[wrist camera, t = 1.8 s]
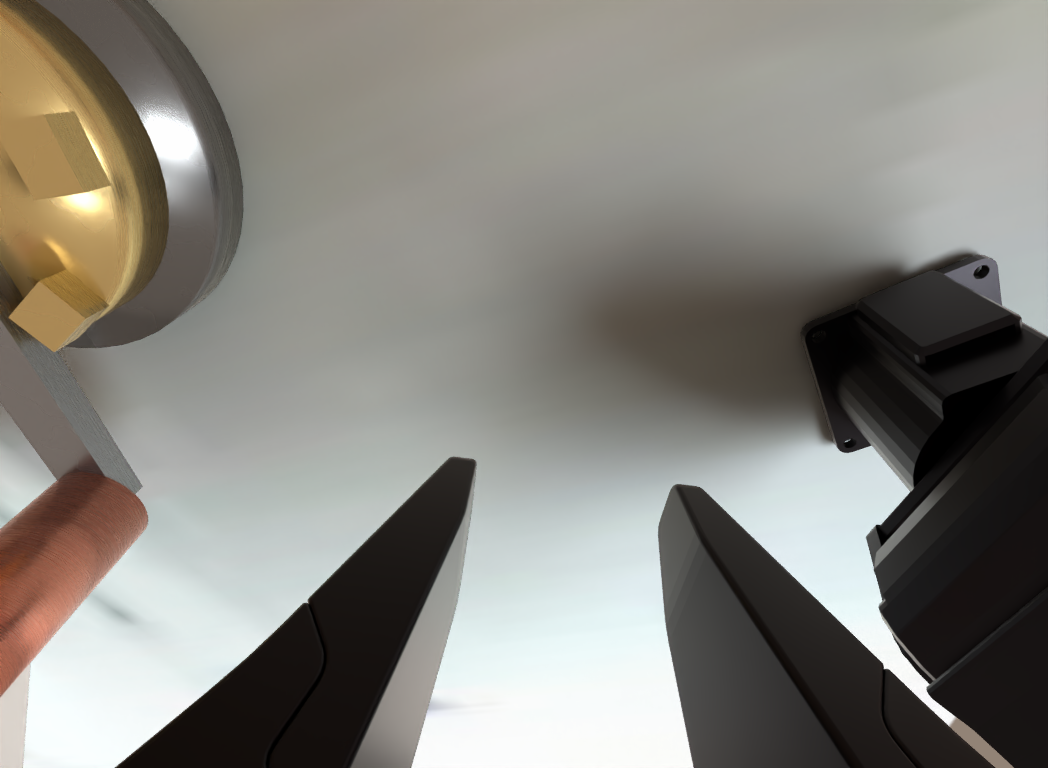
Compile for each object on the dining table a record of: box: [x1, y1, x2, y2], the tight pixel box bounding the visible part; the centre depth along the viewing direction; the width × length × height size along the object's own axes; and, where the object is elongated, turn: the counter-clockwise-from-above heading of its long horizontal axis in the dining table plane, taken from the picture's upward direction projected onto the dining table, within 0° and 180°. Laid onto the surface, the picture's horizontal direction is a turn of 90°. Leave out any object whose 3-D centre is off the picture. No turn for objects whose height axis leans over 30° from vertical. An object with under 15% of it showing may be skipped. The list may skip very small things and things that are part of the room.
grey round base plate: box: [35, 0, 243, 348], centre depth 18 cm, size 13×13×2 cm
